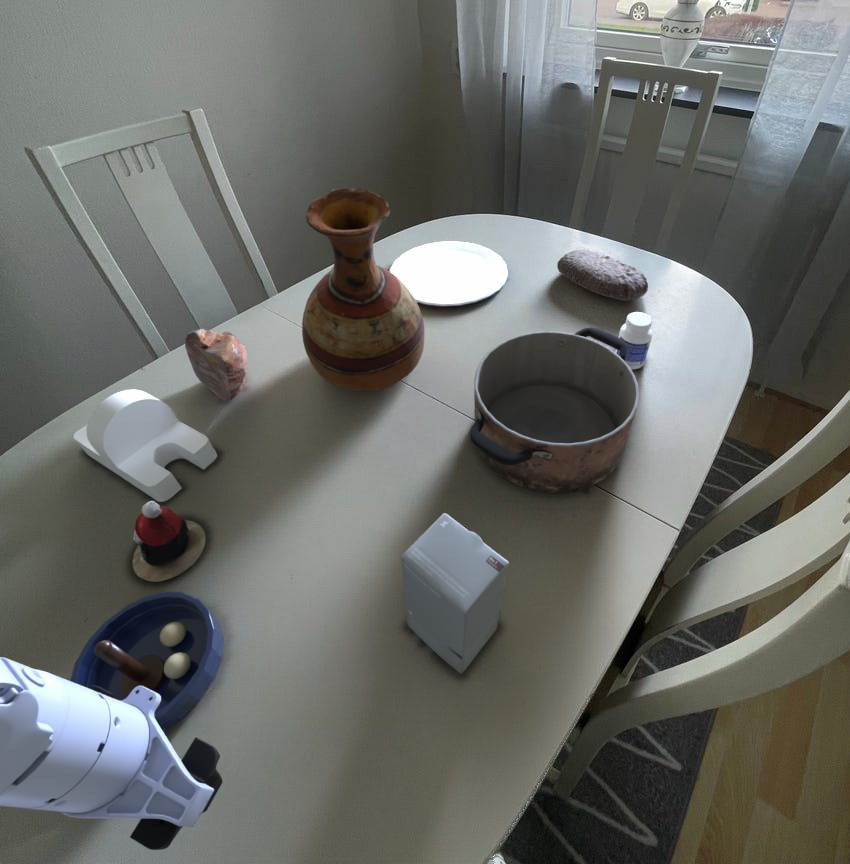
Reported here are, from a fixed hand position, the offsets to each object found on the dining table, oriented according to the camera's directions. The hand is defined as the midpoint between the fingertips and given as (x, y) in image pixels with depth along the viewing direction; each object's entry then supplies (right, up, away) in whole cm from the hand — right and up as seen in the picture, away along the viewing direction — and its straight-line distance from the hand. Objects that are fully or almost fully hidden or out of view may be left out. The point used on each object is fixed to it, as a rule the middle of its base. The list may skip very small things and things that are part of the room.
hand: (171, 772), depth 40 cm
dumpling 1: (-9, +3, +16) cm, 18 cm away
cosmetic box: (+21, +3, +18) cm, 28 cm away
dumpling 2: (-7, +1, +14) cm, 16 cm away
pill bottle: (+50, +34, +50) cm, 78 cm away
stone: (-17, +31, +47) cm, 59 cm away
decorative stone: (+49, +51, +67) cm, 97 cm away
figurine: (-15, +9, +25) cm, 30 cm away
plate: (+17, +53, +70) cm, 89 cm away
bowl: (-10, 0, +15) cm, 18 cm away
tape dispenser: (-24, +20, +36) cm, 47 cm away
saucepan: (+34, +22, +38) cm, 56 cm away
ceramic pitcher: (+5, +34, +50) cm, 61 cm away
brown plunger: (-11, -1, +14) cm, 17 cm away
